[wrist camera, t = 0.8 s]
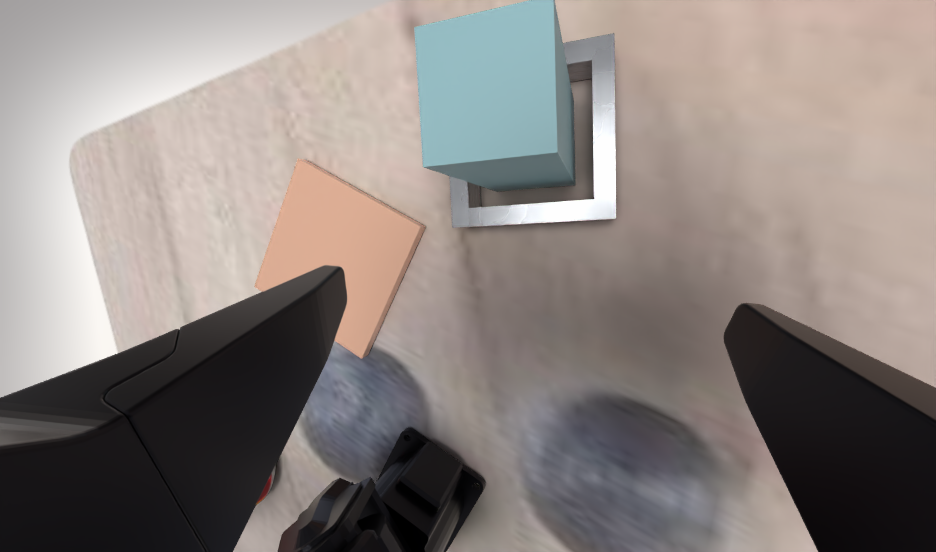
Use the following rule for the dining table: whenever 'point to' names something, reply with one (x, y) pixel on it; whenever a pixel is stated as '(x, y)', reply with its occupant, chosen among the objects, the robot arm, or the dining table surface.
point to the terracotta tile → (342, 248)
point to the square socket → (599, 65)
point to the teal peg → (497, 98)
